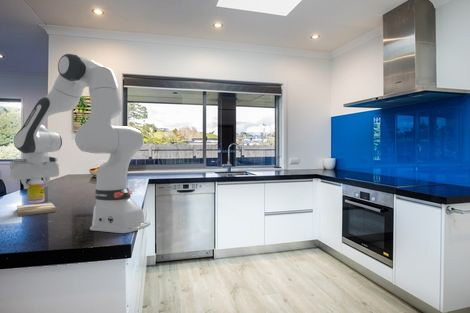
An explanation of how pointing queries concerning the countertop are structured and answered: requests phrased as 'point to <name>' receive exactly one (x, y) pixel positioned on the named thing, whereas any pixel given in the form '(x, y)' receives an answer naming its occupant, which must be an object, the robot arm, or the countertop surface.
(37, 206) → the birch board
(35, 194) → the supplement bottle
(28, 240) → the countertop surface
